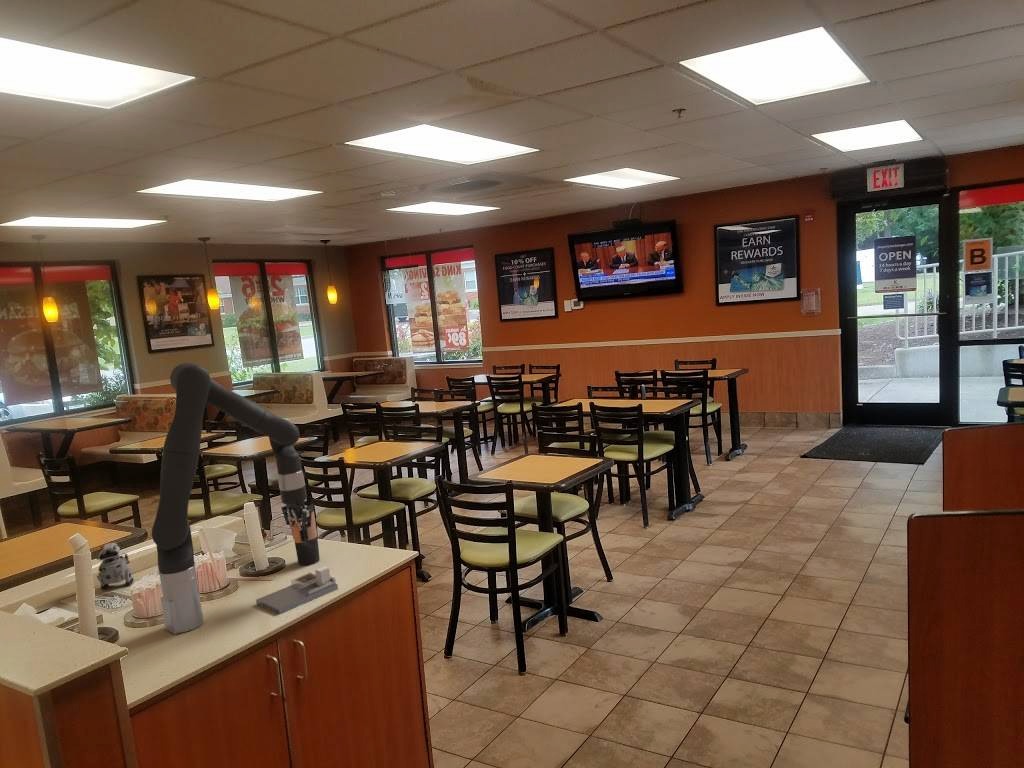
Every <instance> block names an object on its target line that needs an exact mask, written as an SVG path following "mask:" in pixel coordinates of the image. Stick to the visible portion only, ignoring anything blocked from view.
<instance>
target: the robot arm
mask: <svg viewBox="0 0 1024 768" xmlns="http://www.w3.org/2000/svg"><path fill="white" fill-rule="evenodd" d="M169 380H170V384H171V387H172V388H173V390H174V391H175V392H176V395H175V410H174V415H173V418H172V421H171V423H170V426H169V429H168V431H167V434H166V436H165V439H164V443H163V447H162V448H163V450H162V457H161V465H160V466H161V467H160V481H159V483H160V484H159V485H160V486H159V489H160V490H159V500H158V501H159V502H158V506H157V511H156V515H155V519H154V523H153V526H152V528H151V538H152V541H153V543H154V544H155V546H156V551H157V568H158V574H159V580H160V585H161V587H160V588H161V593H162V597H160V603H161V604H160V605H161V609H162V614H163V621H164V622H163V623H164V628H165V630H166V631H167V632H169V633H171V634H173V635H177V634H180V633H185V632H189V631H192V630H195V629H197V628H199V627H200V626H202V625H203V624H204V615H203V614H204V613H203V607H202V603H201V595H200V591H199V590H200V589H199V582H198V577H197V570H196V563H195V556H194V554H195V553H194V545H193V537H192V530H191V525H190V520H189V518H188V514H189V513H188V512H189V502H190V497H191V492H192V489H193V485H194V482H195V479H196V474H197V470H198V469H197V468H198V464H199V458H200V449H201V441H202V440H201V439H202V432H203V421H204V419H203V418H204V413H205V408H206V405H207V404H209V405H211V406H212V407H214V408H216V409H218V410H219V411H221V412H222V413H224V414H225V415H227V416H229V417H231V418H232V419H233V420H236V422H238V423H240V424H242V425H244V426H245V427H247V428H249V429H251V430H253V431H255V432H256V433H257V432H258V433H261V434H264V435H266V436H267V437H268V439H269V443H270V447H271V450H272V453H273V456H274V457H275V460H276V461H275V462H276V463H275V464H276V468H277V475H278V476H277V477H278V481H277V482H278V487H279V493H280V500H281V503H282V504H284V506H281V511H282V514H283V517H284V520H285V524H286V525H287V526H289V528H290V529H291V534H292V539H293V540H294V536H293V530H292V525H294V523H295V522H296V523H297V524H298V527H299V531H300V538H301V541H302V542H304V541H307V540H308V532H307V528H309V527H311V513H312V512H311V510H307V509H306V507H305V505H304V503H305V501H306V500H307V499H308V495H307V487H306V482H305V476H304V472H303V468H302V461H301V456H300V454H299V453H298V452H297V451H296V449H295V447H294V445H295V444H296V443H297V442H298V440H299V439H300V430H299V428H298V426H297V425H295V423H293V422H291V421H289V420H287V419H285V418H283V417H281V416H279V415H276V414H275V413H272V412H271V411H269V410H268V409H266V408H265V407H262V406H261V405H259V403H256V402H254V401H252V400H250V399H248V398H247V397H245V396H242V395H241V394H238V393H236V392H234V391H232V390H230V389H228V388H226V387H225V386H223V385H222V384H220V383H218V382H217V381H215V380H214V379H213V378H212V377H211V375H210V373H209V372H208V371H207V369H206V368H204V367H203V366H201V365H199V364H196V363H192V362H184V363H180V364H178V365H176V366H175V367H174V368H173V369H172V371H171V372H170V377H169ZM300 518H302V519H301V520H299V519H300ZM301 522H302V525H301ZM307 522H308V523H307Z"/></svg>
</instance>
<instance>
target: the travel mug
mask: <svg viewBox="0 0 1024 768" xmlns="http://www.w3.org/2000/svg"><path fill="white" fill-rule="evenodd" d="M304 505H305V507H306V509H307V510H311V512H312V513H311V527H309V528H307V532H308V540H307V541H305V542H301V543H295V542H294V544H295V545H294V547H295V551H296V552H295V553H296V557H297V563H298V565H299V566H302V567H303V566H304V567H305V566H311V565H314V564H317V563H318V562H320V559H321V558H320V551H319V550H320V549H319V539H318V530H317V525H316V517H315V509H314V504H313V502H309V501H308V502H304ZM301 519H302V518H300V519H299V520H301ZM307 523H308V522H307Z"/></svg>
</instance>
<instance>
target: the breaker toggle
mask: <svg viewBox="0 0 1024 768" xmlns="http://www.w3.org/2000/svg"><path fill="white" fill-rule="evenodd" d="M314 571H315V575H316V580H317V585H318V586H321V585H324V584H325V583H328V582H330V581H331V580H330V577H331V573H330V572H331V571H330V568H329V567H328V566H321V567H319V568H316V569H314Z"/></svg>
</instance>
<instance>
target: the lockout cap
mask: <svg viewBox="0 0 1024 768" xmlns="http://www.w3.org/2000/svg"><path fill="white" fill-rule="evenodd" d="M301 525H302V522H301ZM292 530H293V535H292V537H293V536H294V539H293V541H294V544H295V543H301V542H302V541H301V538H300V531H299V527H298V524H297V523H296V522H295V523H294V525H292V528H291V531H292ZM304 542H305V541H304Z"/></svg>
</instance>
